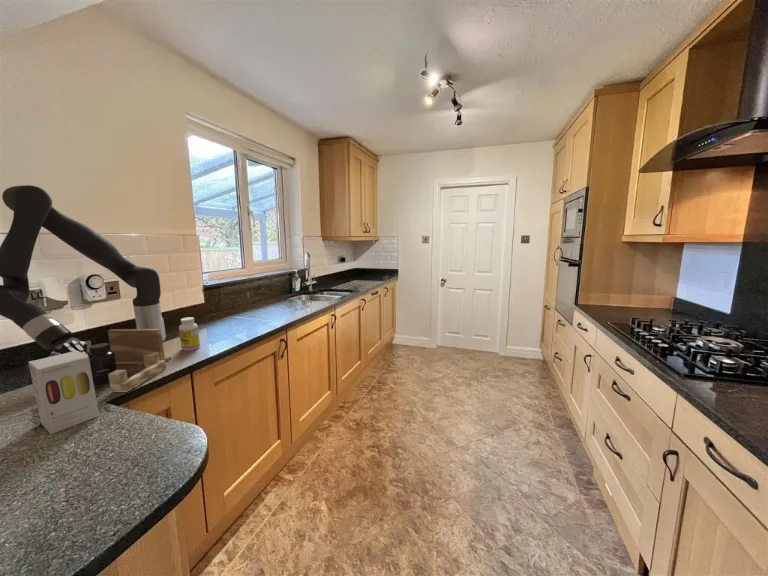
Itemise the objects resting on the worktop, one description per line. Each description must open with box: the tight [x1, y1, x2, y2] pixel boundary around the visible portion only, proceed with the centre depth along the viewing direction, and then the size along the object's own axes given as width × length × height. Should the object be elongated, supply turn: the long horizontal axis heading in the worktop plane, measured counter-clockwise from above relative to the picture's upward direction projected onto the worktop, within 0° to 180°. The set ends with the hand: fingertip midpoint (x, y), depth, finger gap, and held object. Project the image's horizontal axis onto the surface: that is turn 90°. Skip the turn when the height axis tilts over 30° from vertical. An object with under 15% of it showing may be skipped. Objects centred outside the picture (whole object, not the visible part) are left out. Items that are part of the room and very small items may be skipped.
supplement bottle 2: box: [178, 316, 201, 352], centre depth 129 cm, size 7×7×13 cm
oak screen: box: [107, 328, 172, 365], centre depth 116 cm, size 5×18×13 cm, turn 90°
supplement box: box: [27, 350, 100, 435], centre depth 80 cm, size 10×9×17 cm
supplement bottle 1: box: [88, 342, 118, 385], centre depth 102 cm, size 7×7×12 cm
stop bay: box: [108, 353, 167, 392], centre depth 102 cm, size 17×5×6 cm, turn 0°
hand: (92, 367), depth 102 cm, fingers closed
